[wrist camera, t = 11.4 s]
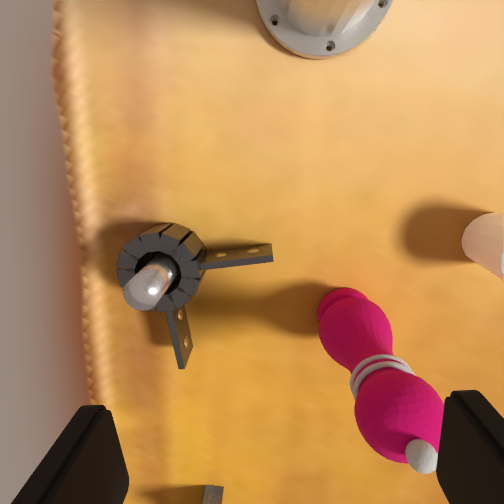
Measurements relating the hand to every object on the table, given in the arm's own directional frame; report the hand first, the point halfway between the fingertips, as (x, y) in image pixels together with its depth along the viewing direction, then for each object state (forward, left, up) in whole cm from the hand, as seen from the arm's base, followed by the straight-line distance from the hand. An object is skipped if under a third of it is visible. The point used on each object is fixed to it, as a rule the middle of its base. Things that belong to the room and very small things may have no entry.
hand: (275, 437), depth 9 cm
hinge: (+6, -7, -27) cm, 29 cm away
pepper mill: (+11, +8, -28) cm, 31 cm away
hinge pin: (+2, -11, -27) cm, 30 cm away
